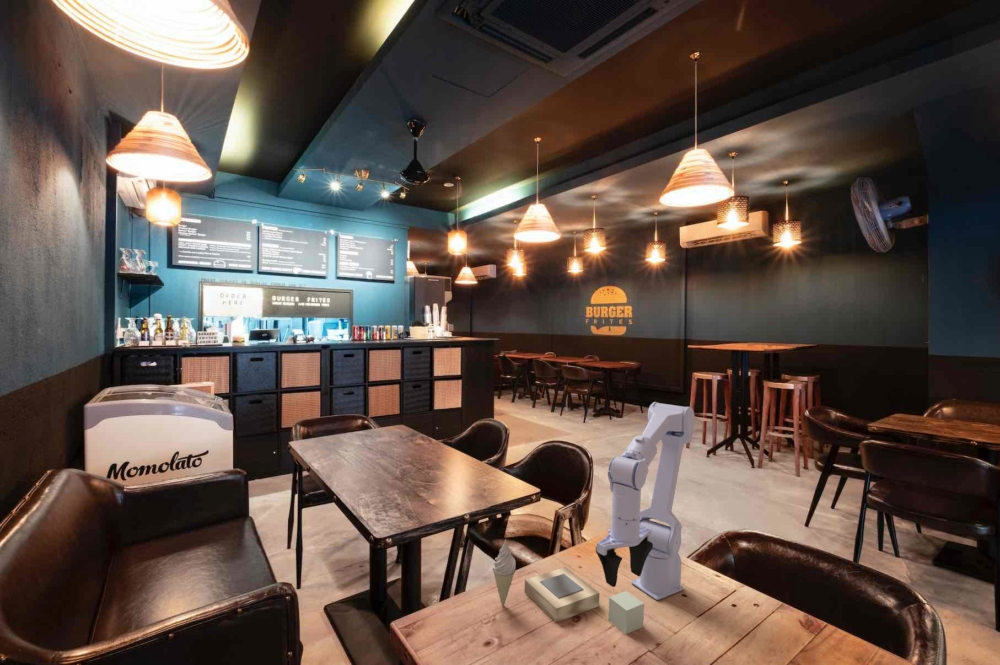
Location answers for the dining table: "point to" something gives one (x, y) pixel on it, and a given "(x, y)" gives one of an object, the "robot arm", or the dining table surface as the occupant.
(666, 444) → the robot arm
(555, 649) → the dining table surface
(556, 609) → the birch pedestal
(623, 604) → the sage cube
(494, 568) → the ice cream cone
